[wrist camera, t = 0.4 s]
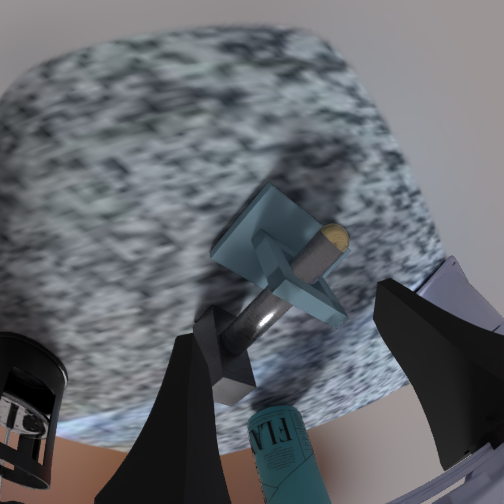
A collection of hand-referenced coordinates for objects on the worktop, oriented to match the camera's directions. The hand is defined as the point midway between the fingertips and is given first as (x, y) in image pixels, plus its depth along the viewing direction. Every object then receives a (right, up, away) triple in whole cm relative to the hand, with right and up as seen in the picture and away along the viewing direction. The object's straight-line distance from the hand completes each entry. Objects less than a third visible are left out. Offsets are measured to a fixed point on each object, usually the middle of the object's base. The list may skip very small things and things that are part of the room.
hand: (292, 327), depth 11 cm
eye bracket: (+1, +3, +10) cm, 11 cm away
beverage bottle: (+1, -15, +22) cm, 26 cm away
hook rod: (-1, +1, +11) cm, 11 cm away
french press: (-24, -9, +12) cm, 28 cm away
